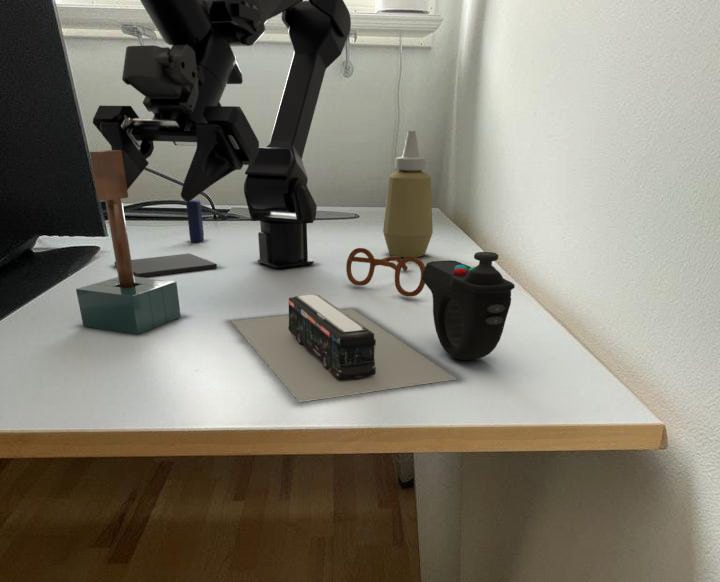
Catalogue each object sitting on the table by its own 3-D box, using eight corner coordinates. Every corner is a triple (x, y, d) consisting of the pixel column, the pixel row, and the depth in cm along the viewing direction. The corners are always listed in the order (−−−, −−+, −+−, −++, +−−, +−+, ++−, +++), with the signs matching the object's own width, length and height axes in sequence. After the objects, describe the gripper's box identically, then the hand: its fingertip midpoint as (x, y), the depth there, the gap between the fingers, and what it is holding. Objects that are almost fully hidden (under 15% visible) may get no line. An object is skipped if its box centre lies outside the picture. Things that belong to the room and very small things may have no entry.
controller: (468, 378, 58) (479, 261, 54) (413, 338, 69) (418, 237, 64) (511, 372, 60) (525, 258, 55) (451, 334, 70) (458, 235, 65)
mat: (189, 257, 105) (189, 253, 105) (217, 268, 98) (216, 263, 98) (114, 265, 99) (114, 261, 99) (138, 278, 92) (137, 273, 92)
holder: (129, 309, 77) (123, 275, 76) (181, 317, 75) (176, 281, 73) (83, 326, 72) (75, 288, 70) (138, 334, 69) (131, 296, 67)
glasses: (344, 285, 89) (344, 246, 87) (405, 270, 98) (406, 235, 95) (420, 302, 81) (422, 260, 79) (480, 285, 90) (483, 246, 87)
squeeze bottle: (428, 261, 104) (435, 132, 95) (378, 258, 105) (380, 131, 97) (433, 251, 111) (441, 130, 102) (386, 249, 112) (389, 130, 104)
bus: (299, 402, 53) (297, 351, 51) (231, 321, 74) (227, 282, 71) (456, 379, 58) (460, 332, 56) (351, 309, 78) (352, 272, 76)
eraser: (193, 240, 119) (189, 199, 116) (205, 240, 119) (201, 199, 116) (189, 242, 117) (184, 200, 114) (201, 242, 117) (196, 201, 114)
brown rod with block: (137, 317, 75) (111, 149, 67) (149, 318, 74) (123, 150, 66) (117, 324, 72) (86, 151, 64) (128, 326, 72) (99, 151, 63)
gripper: (88, 19, 71) (30, 137, 68) (236, 12, 65) (181, 141, 61) (146, 104, 81) (99, 211, 78) (279, 105, 75) (235, 221, 71)
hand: (149, 196), depth 72 cm, fingers open, 9 cm apart
